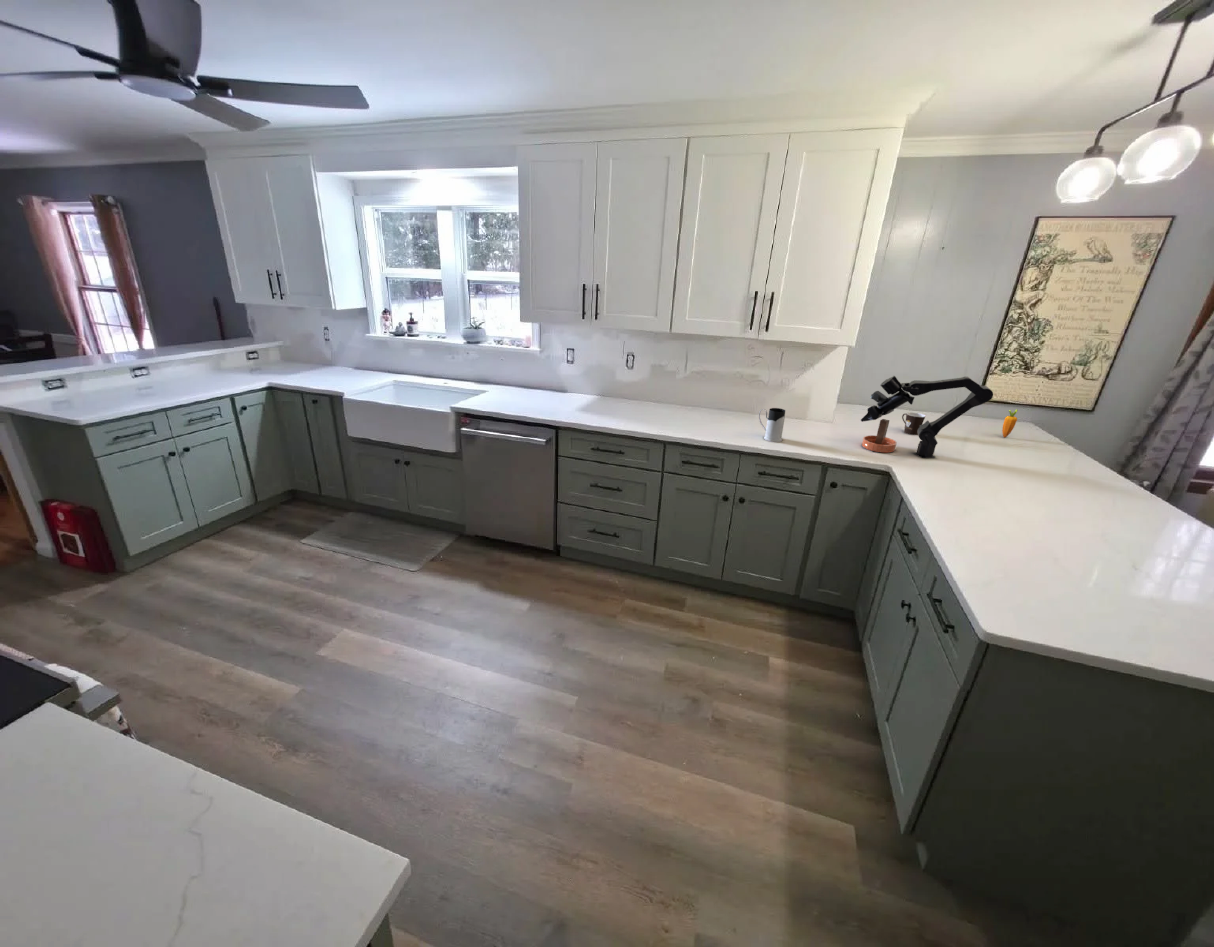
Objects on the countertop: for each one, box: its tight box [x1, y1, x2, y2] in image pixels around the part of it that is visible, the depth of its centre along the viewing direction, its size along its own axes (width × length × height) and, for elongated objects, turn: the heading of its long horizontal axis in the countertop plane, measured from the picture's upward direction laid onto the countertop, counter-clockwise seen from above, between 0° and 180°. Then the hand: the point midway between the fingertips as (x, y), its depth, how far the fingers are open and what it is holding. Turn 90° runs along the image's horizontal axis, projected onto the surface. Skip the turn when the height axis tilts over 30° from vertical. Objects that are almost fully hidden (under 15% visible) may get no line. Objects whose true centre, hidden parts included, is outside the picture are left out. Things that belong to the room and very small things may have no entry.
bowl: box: [861, 435, 898, 454], centre depth 237 cm, size 14×14×4 cm
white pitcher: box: [758, 407, 786, 443], centre depth 247 cm, size 9×14×15 cm, turn 39°
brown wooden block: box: [875, 418, 890, 445], centre depth 235 cm, size 4×4×14 cm
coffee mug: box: [901, 411, 927, 436], centre depth 259 cm, size 12×9×10 cm
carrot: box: [1001, 409, 1018, 439], centre depth 251 cm, size 5×5×15 cm
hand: (865, 418), depth 238 cm, fingers open, 9 cm apart
